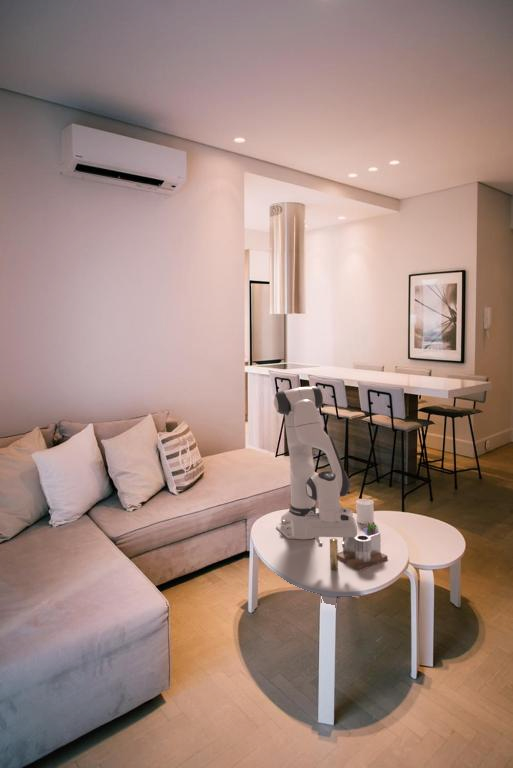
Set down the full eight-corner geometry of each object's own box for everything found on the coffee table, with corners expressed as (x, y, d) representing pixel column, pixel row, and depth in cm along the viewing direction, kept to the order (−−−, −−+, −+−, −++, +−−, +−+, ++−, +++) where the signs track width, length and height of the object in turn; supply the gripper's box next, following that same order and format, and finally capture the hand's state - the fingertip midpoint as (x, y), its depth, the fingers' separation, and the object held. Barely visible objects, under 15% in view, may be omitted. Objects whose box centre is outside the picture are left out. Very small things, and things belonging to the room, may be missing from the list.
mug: (349, 517, 240) (349, 497, 239) (363, 514, 242) (363, 495, 241) (362, 525, 228) (362, 505, 227) (377, 523, 231) (376, 503, 230)
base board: (335, 557, 197) (335, 553, 197) (363, 547, 205) (363, 543, 205) (359, 570, 185) (359, 566, 185) (387, 559, 193) (387, 555, 193)
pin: (328, 568, 188) (328, 539, 186) (334, 566, 189) (333, 537, 188) (333, 571, 185) (333, 542, 184) (339, 569, 187) (338, 540, 185)
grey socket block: (340, 552, 198) (340, 531, 197) (363, 544, 205) (362, 524, 204) (362, 564, 187) (362, 542, 186) (385, 555, 194) (385, 534, 193)
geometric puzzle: (383, 536, 210) (378, 519, 214) (369, 538, 208) (364, 521, 212) (377, 540, 216) (371, 523, 220) (363, 542, 214) (358, 525, 218)
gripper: (302, 516, 184) (305, 549, 185) (355, 516, 179) (357, 551, 180) (305, 510, 190) (307, 542, 191) (356, 510, 185) (358, 543, 186)
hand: (332, 546), depth 186 cm, fingers open, 8 cm apart
